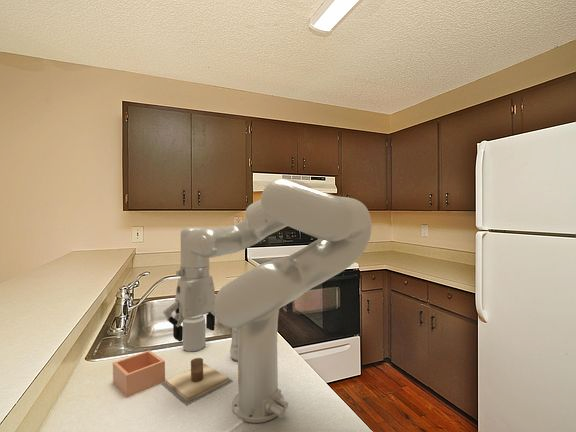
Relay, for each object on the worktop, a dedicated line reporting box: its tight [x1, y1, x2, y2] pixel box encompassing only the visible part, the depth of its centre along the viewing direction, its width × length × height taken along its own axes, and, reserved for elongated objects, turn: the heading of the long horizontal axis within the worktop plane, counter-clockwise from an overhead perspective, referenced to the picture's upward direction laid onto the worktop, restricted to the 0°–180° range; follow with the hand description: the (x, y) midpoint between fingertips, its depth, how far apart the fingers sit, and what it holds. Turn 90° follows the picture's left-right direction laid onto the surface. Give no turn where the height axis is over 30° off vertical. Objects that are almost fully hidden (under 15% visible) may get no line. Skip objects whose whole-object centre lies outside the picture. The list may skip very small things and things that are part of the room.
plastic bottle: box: [229, 328, 239, 362], centre depth 97 cm, size 6×7×20 cm
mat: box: [160, 377, 234, 406], centre depth 83 cm, size 14×14×1 cm
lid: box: [165, 357, 229, 402], centre depth 83 cm, size 12×12×6 cm
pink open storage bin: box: [112, 350, 166, 398], centre depth 84 cm, size 10×10×6 cm
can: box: [182, 314, 206, 352], centre depth 105 cm, size 8×8×12 cm
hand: (195, 334), depth 83 cm, fingers open, 9 cm apart
